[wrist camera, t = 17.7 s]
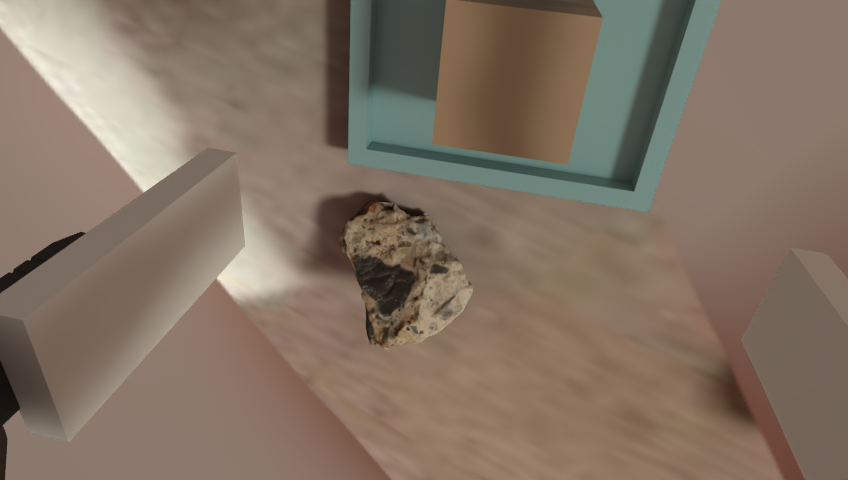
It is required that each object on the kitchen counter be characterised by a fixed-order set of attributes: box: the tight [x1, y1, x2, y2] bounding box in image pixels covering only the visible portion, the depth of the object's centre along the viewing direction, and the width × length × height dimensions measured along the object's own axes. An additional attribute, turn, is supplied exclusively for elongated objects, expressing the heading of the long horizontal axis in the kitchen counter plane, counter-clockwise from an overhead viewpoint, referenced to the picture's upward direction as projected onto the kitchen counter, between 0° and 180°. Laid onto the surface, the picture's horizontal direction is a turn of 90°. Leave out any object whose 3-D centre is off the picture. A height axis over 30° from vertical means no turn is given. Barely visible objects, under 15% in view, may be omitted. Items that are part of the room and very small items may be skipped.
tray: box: [348, 0, 721, 212], centre depth 32 cm, size 19×15×2 cm
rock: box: [338, 201, 473, 350], centre depth 39 cm, size 9×7×10 cm
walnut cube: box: [432, 0, 603, 165], centre depth 29 cm, size 7×7×7 cm
